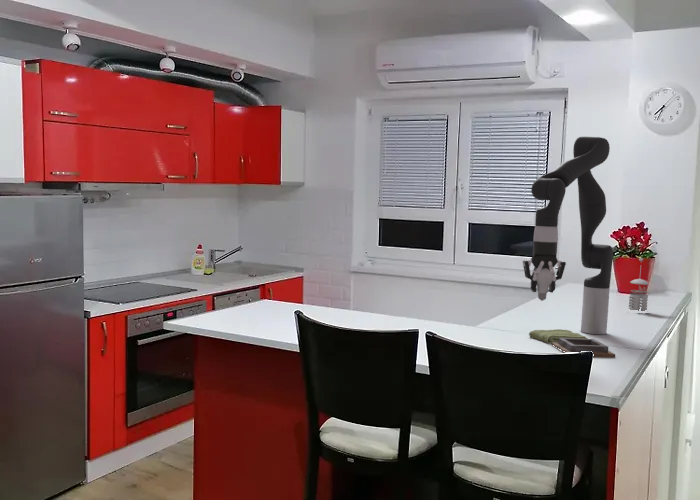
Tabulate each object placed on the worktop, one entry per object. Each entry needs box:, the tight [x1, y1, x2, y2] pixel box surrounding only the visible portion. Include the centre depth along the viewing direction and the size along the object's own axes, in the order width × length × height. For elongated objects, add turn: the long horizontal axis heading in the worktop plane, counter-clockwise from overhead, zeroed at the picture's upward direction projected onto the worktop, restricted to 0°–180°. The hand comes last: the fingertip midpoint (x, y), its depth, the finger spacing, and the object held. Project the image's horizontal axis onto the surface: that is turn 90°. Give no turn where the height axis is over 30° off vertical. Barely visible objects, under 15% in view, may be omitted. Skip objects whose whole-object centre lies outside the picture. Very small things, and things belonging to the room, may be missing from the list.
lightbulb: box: [536, 268, 553, 302], centre depth 226 cm, size 6×6×11 cm
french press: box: [628, 257, 650, 311], centre depth 316 cm, size 10×12×25 cm
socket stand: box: [550, 338, 616, 358], centre depth 226 cm, size 16×15×3 cm
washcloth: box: [528, 328, 589, 344], centre depth 245 cm, size 13×18×3 cm
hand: (542, 291), depth 226 cm, fingers closed on lightbulb, 5 cm apart
